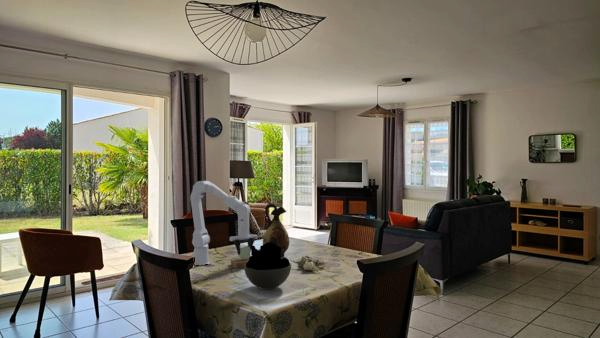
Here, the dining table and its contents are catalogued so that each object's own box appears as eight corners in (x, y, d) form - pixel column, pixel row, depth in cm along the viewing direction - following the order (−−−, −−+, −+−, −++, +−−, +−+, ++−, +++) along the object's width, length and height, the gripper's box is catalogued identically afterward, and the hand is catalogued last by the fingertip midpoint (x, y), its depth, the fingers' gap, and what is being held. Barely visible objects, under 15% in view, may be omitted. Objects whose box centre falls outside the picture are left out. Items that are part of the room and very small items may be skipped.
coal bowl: (291, 280, 181) (291, 239, 181) (291, 295, 161) (291, 248, 161) (246, 281, 181) (246, 239, 181) (241, 296, 161) (241, 249, 161)
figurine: (325, 254, 212) (335, 262, 195) (325, 266, 212) (334, 275, 195) (288, 254, 208) (294, 262, 191) (287, 265, 208) (294, 275, 191)
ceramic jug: (291, 252, 240) (290, 202, 239) (287, 258, 224) (287, 205, 224) (262, 252, 241) (262, 202, 241) (257, 258, 226) (257, 204, 226)
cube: (238, 256, 211) (237, 246, 211) (247, 255, 213) (247, 245, 213) (240, 258, 207) (240, 248, 207) (250, 257, 209) (250, 247, 209)
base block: (230, 264, 213) (230, 258, 213) (250, 262, 217) (250, 256, 217) (236, 269, 203) (236, 263, 203) (257, 266, 208) (257, 260, 208)
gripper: (232, 229, 203) (232, 256, 203) (259, 227, 210) (259, 253, 210) (228, 227, 210) (228, 253, 210) (254, 225, 216) (255, 251, 216)
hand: (243, 253), depth 210 cm, fingers closed on cube, 5 cm apart
